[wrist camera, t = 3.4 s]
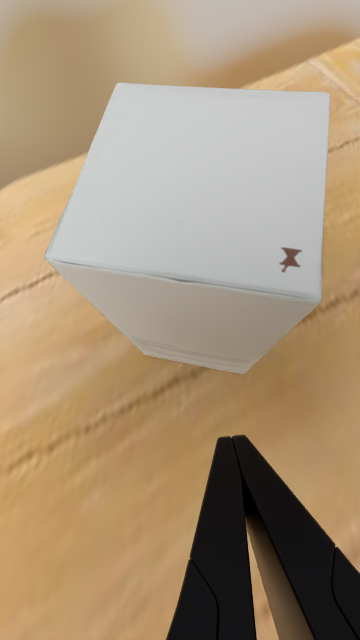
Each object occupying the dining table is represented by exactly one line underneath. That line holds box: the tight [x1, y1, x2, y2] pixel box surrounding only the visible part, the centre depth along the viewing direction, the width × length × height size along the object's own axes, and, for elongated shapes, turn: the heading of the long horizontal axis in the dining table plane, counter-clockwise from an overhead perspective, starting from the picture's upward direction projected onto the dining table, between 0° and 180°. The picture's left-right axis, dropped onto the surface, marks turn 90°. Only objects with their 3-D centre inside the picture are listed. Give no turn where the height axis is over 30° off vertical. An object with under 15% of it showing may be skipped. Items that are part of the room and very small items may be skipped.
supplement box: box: [44, 83, 330, 374], centre depth 14 cm, size 7×7×13 cm
